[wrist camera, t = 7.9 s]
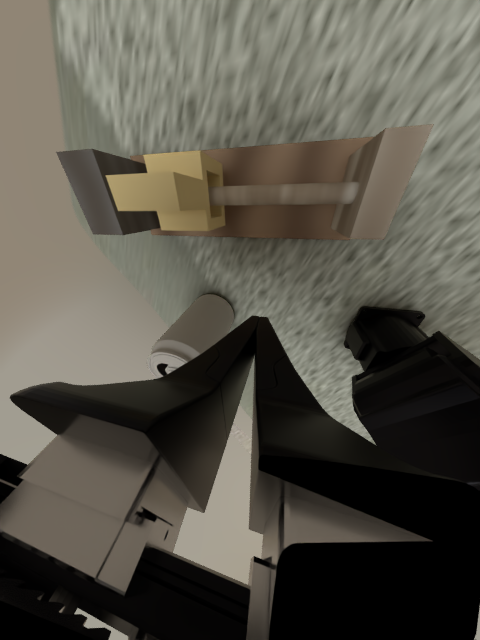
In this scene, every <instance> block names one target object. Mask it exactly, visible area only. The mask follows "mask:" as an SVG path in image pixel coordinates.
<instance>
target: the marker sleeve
mask: <svg viewBox="0 0 480 640" xmlns="http://www.w3.org/2000/svg"><path fill="white" fill-rule="evenodd" d="M143 156H144V160H145V164H146V168H147V172H148V173H139V174H120V175H106V178H107V181H108V184H109V187H110V189H111V192H112V195H113V198H114V201H115V204H116V206H117V209H118V211H157V214H158V218H159V222H160V226H161V230H171V231H210V230H213V229H216V228H219V227H222V226H225V209H224V205H220V206H210V203H209V192H208V187H220V186H223V170H222V164H221V163H220V162H218V161H216V160H215V159H213V158H211V157H210V156H208V155H207V154H205V153H203V152H202V151H200V150H198V151H186V152H173V153H161V154H148V155H143Z"/></svg>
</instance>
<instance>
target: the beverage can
mask: <svg viewBox="0 0 480 640" xmlns="http://www.w3.org/2000/svg"><path fill="white" fill-rule="evenodd" d="M233 321H234V313H233V310H232V307H231V306H230V305H229V303H228V302H227V301H226V300H224V299H223V298H221V297H219V296H217V295H212V294H206V295H202V296H200V297H199V298H198V299H197V300H196V301H195V302H194V303H193V304H192V305H191V306H190V307H189V308H188V309H187V310H186V311H185V312H184V313H183V314H182V315H181V317H180V318H179V319H178V320H177V321H176V322H175V323H174V324H173V325H172V326H171V327H170V328H169V329H168V330H167V331H166V333H164V335H163V336H162V337H161V338H160V339H159V340H158V341H157V342H156V343H155V344H154V345H153V347H152V351H151V354H150V356H149V357H148V359H147V366H148V369H149V371H150V372H151V373H152V375H153V376H154V377H155V378H156V379H157V378H160V377H163V376H165V375H167V374H169V373H170V372H172V371H174V370H175V369H177V368H179V367H180V366H182V365H184V364H185V363H187V362H189V361H190V360H192V359H194V358H195V357H197V356H198V355H200V354H201V353H203V352H204V351H206V350H207V349H209V348H210V347H211V346H213V345H214V344H215V343H217V342H218V341H219V340H221V339H222V338H223V337H225V336H226V335H227V334H228V332H229V330H230V328H231V325H232V323H233Z"/></svg>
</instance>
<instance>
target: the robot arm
mask: <svg viewBox="0 0 480 640" xmlns="http://www.w3.org/2000/svg"><path fill="white" fill-rule="evenodd" d="M364 310H366V311H365V312H363V311H364ZM419 315H420V316H419ZM417 316H419V317H417ZM424 318H425V314H423V313H422V312H419V311H408V310H397V309H387V308H376V307H362V308H360V309H359V312H358V314H357V316H356V318H355V320H354V322H352V323H351V326H350V328H349V330H348V332H347V335H346V337H345V338H346V340H345V342H344V346H345V348H347V349H351V351H352V354H353V356H354V358H355V359H356V360H359V361H360V364H361V366H362V368H363V370H364V372H363V373H361V374H359V375H355V376H353V377H352V399H353V407H354V411H355V413H356V414H357V416H358V418H359V420H360V422H361V423H362V424H363V425H364V427H365V428H366V429H367V431H368V432H369V434H370V435H371V437H372V439H373V440H374V442H375V443H376V445H377V446H376V445H374V444H373V443H371V442H370V441H368V440H366V439H365V438H363V437H362V436H360V435H359V434H357V433H355V432H354V431H352V430H351V429H349V428H347V427H346V426H344V425H343V424H341V423H340V422H338V421H336V420H335V419H333V418H332V417H331V416H330V415H329V414H328V413H327V412H326V411H325V410H324V409H323V408H322V407H321V406H320V404H319V403H318V402H317V400H316V399H315V397H314V396H313V394H312V393H311V392H310V390H309V389H308V387H307V386H306V385H305V383H304V382H303V380H302V379H301V377H300V376H299V375H298V373H297V372H296V370H295V368H294V367H293V365H292V363H291V361H290V359H289V357H288V356H287V354H286V352H285V350H284V348H283V346H282V344H281V342H280V340H279V338H278V336H277V335H276V333H275V331H274V329H273V327H272V325H271V323H270V321H269V319H268V318H267V317H259V316H251V317H250V318H248V319H247V320H246V321H244V322H243V323H242V324H240V325H239V326H238V327H237V328H235V329H234V330H233V331H231V332H230V333H229V334H227V335H226V336H225V337H223V338H222V339H221V340H219V341H218V342H217V343H215V344H214V345H213V346H211V347H210V348H209V349H207V350H206V351H204V352H203V353H201V354H200V355H198V356H197V357H195V358H194V359H192V360H190V361H189V362H187V363H185V364H184V365H182V366H180V367H179V368H177V369H175V370H174V371H172V372H170V373H169V374H167V375H165V376H163V377H160V378H157V379H153V380H146V381H134V382H125V383H115V384H104V385H87V386H82V385H72V384H68V383H63V382H53V383H46V384H40V385H36V386H32V387H29V388H26V389H23V390H20V391H18V392H16V393H14V394H12V395H11V396H10V399H11V401H12V402H13V403H14V404H15V405H16V406H18V407H19V408H20V409H21V410H23V411H24V412H26V413H27V414H28V415H30V416H32V417H33V418H34V419H36V420H37V421H38V422H40V423H41V424H43V425H44V426H46V427H47V428H48V429H50V430H51V431H53V432H54V433H55V434H57V436H56V437H55V438H54V439H53V440H52V441H51V442H50V443H49V444H48V445H47V446H46V447H45V448H44V450H42V451H41V452H40V453H39V455H37V456H36V457H35V458H34V460H32V461H31V462H30V463H29V464H28V465H27V464H24V463H22V462H19V461H17V460H14V459H11V458H9V457H7V456H4V455H2V454H0V640H108V639H109V636H110V633H111V631H109V630H108V629H106V628H90V629H88V628H86V627H84V624H85V622H86V620H87V617H85V616H83V615H82V614H77V615H75V614H74V613H75V611H76V610H77V608H79V609H81V610H83V611H85V612H87V613H88V614H90V615H92V616H93V617H95V618H97V619H99V620H100V621H102V622H104V623H106V624H107V625H109V626H111V627H113V628H115V629H116V630H118V631H120V632H122V633H124V634H125V635H127V636H128V640H474V638H475V635H476V631H477V622H478V614H479V606H480V360H479V359H478V358H477V357H475V356H474V355H473V354H471V353H470V352H468V351H467V350H465V349H464V348H463V347H461V346H460V345H458V344H457V343H456V342H454V341H453V340H451V339H450V338H449V337H447V336H446V335H444V334H443V333H441V332H440V331H438V332H436V333H434V334H432V335H433V336H431V337H428V336H427V335H426V334H425V333H424V332H423V331H422V330H421V329H420V328H419V327H418V326H419V325H420V324H421V322H422V321H423V319H424ZM254 355H255V364H254V394H253V424H252V454H251V484H250V486H251V487H250V513H249V514H250V516H249V529H250V530H252V531H255V532H258V533H260V534H263V545H262V559H260V558H257V557H255V556H254V557H252V558H251V563H250V573H249V583H248V585H247V584H244V583H242V582H240V581H237V580H235V579H233V578H230V577H228V576H226V575H223V574H221V573H218V572H216V571H214V570H211V569H209V568H207V567H205V566H202V565H200V564H197V563H195V562H193V561H191V560H188V559H186V558H183V557H181V556H178V555H177V554H174V553H173V550H174V547H175V544H176V541H177V537H178V534H179V531H180V527H181V525H182V522H183V519H184V515H185V513H186V510H187V507H189V508H191V509H194V510H197V511H200V512H202V513H204V512H205V509H206V506H207V503H208V500H209V496H210V494H211V490H212V487H213V484H214V481H215V478H216V475H217V471H218V469H219V465H220V462H221V459H222V456H223V453H224V450H225V447H226V443H227V440H228V437H229V434H230V431H231V428H232V425H233V421H234V418H235V415H236V412H237V409H238V406H239V403H240V400H241V396H242V393H243V390H244V387H245V384H246V381H247V378H248V375H249V371H250V368H251V365H252V362H253V359H254Z"/></svg>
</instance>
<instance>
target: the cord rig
mask: <svg viewBox="0 0 480 640" xmlns="http://www.w3.org/2000/svg"><path fill="white" fill-rule="evenodd" d="M433 125H434V124H430V125H419V126H407V127H395V128H386V129H384V130H383V131H382V132H380V133H379V134H378V135H376V136H375V137H366V138H353V139H341V140H328V141H315V142H303V143H290V144H277V145H265V146H252V147H239V148H227V149H214V150H201V151H202V152H203V153H205V154H207V155H208V156H210V157H211V158H213V159H215V160H216V161H218V162H220V163H221V164H222V170H223V186H220V187H208V192H209V203H210V206H220V205H224V209H225V226H222V227H219V228H216V229H213V230H210V231H171V230H161V226H160V222H159V218H158V214H157V211H118V209H117V206H116V204H115V201H114V198H113V195H112V192H111V189H110V187H109V184H108V181H107V178H106V175H120V174H139V173H148V172H147V168H146V164H145V160H144V156H143V155H138V156H130V157H131V160H130V159H126V158H123V157H119V156H115V155H112V154H108V153H105V152H101V151H98V150H94V149H84V150H74V151H63V152H57V155H58V157H59V160H60V162H61V164H62V166H63V168H64V171H65V173H66V175H67V177H68V179H69V182H70V184H71V186H72V188H73V191H74V193H75V195H76V197H77V199H78V202H79V204H80V206H81V208H82V210H83V213H84V215H85V217H86V219H87V222H88V224H89V226H90V228H91V230H92V233H93V234H103V235H126V234H131V233H137V232H142V231H147V230H151V234H152V235H176V236H215V237H253V238H291V239H330V240H350V239H382V240H384V238H385V236H386V234H387V231H388V229H389V227H390V224H391V222H392V220H393V217H394V215H395V213H396V210H397V208H398V206H399V204H400V201H401V199H402V197H403V194H404V192H405V190H406V187H407V185H408V183H409V180H410V178H411V176H412V173H413V171H414V169H415V167H416V164H417V162H418V160H419V157H420V155H421V153H422V150H423V148H424V146H425V143H426V141H427V139H428V136H429V134H430V132H431V129H432V127H433Z"/></svg>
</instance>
